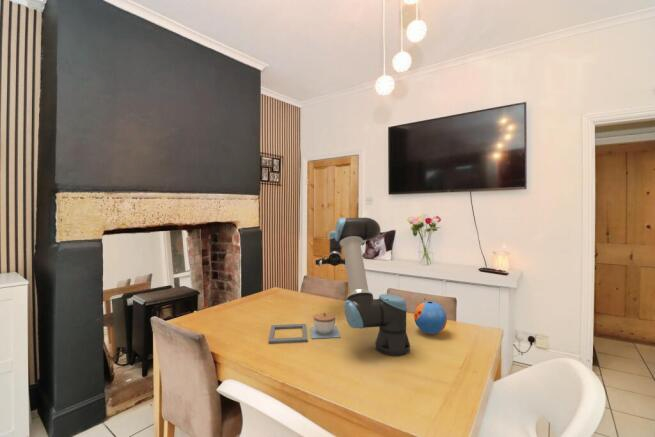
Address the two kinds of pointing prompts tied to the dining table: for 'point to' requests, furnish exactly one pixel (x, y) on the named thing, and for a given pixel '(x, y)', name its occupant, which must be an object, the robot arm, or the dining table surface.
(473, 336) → the dining table surface
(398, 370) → the dining table surface
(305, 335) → the puzzle board
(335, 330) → the pad
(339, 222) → the robot arm
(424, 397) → the dining table surface
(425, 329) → the treat dispenser ball
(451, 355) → the dining table surface
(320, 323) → the lidded jar
